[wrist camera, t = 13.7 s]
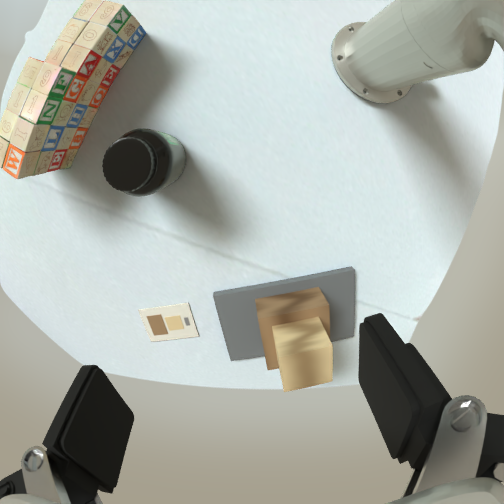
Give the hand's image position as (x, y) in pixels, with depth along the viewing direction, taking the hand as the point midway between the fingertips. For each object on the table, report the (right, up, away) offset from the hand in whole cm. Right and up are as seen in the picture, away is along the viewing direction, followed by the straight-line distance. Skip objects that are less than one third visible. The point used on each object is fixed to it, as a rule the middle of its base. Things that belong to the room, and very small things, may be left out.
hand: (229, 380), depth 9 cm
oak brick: (+7, -7, +27) cm, 28 cm away
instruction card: (-12, -6, +32) cm, 35 cm away
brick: (+6, -6, +31) cm, 33 cm away
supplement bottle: (-11, +16, +24) cm, 31 cm away
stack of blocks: (-21, +26, +20) cm, 39 cm away
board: (+6, -5, +33) cm, 34 cm away
